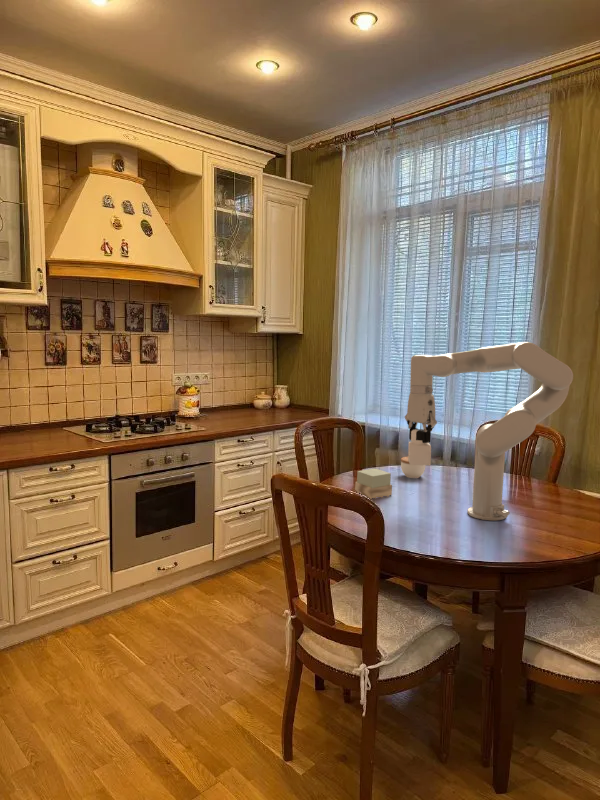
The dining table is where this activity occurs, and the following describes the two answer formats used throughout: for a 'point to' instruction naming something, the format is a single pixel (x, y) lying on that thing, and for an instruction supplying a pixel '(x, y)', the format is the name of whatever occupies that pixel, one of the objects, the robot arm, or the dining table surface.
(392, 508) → the dining table surface
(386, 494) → the tower bottom block
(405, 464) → the lidded jar
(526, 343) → the robot arm
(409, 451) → the medicine bottle
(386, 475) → the tower top block
